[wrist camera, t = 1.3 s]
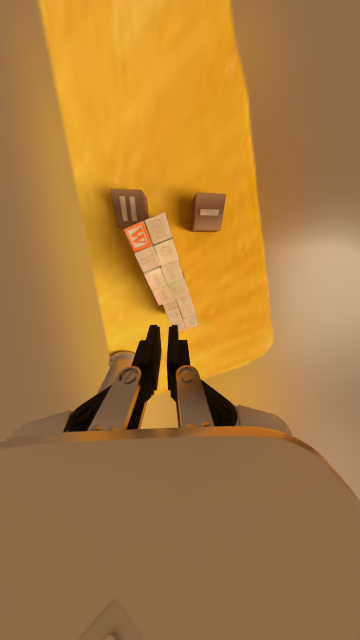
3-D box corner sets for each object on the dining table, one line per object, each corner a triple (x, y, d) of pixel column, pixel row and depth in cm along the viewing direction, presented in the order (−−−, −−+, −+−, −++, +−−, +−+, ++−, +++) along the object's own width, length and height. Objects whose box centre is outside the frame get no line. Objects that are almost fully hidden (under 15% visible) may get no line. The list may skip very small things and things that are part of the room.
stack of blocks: (194, 308, 38) (201, 334, 27) (174, 314, 39) (174, 341, 28) (168, 223, 27) (164, 210, 17) (141, 234, 28) (122, 228, 17)
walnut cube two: (149, 230, 28) (145, 227, 23) (126, 229, 27) (117, 226, 23) (147, 199, 25) (141, 189, 21) (121, 198, 25) (109, 188, 20)
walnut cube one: (213, 232, 28) (220, 230, 24) (191, 231, 28) (194, 229, 24) (217, 202, 26) (226, 193, 21) (192, 201, 25) (196, 192, 21)
